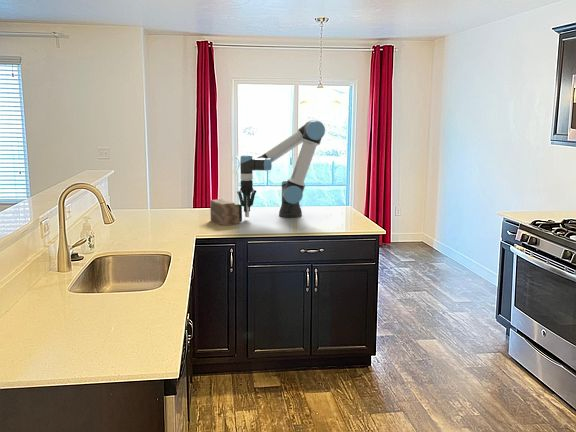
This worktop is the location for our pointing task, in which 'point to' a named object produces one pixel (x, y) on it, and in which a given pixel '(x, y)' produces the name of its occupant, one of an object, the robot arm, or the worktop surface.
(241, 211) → the small box
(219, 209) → the brown patterned block
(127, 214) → the worktop surface
